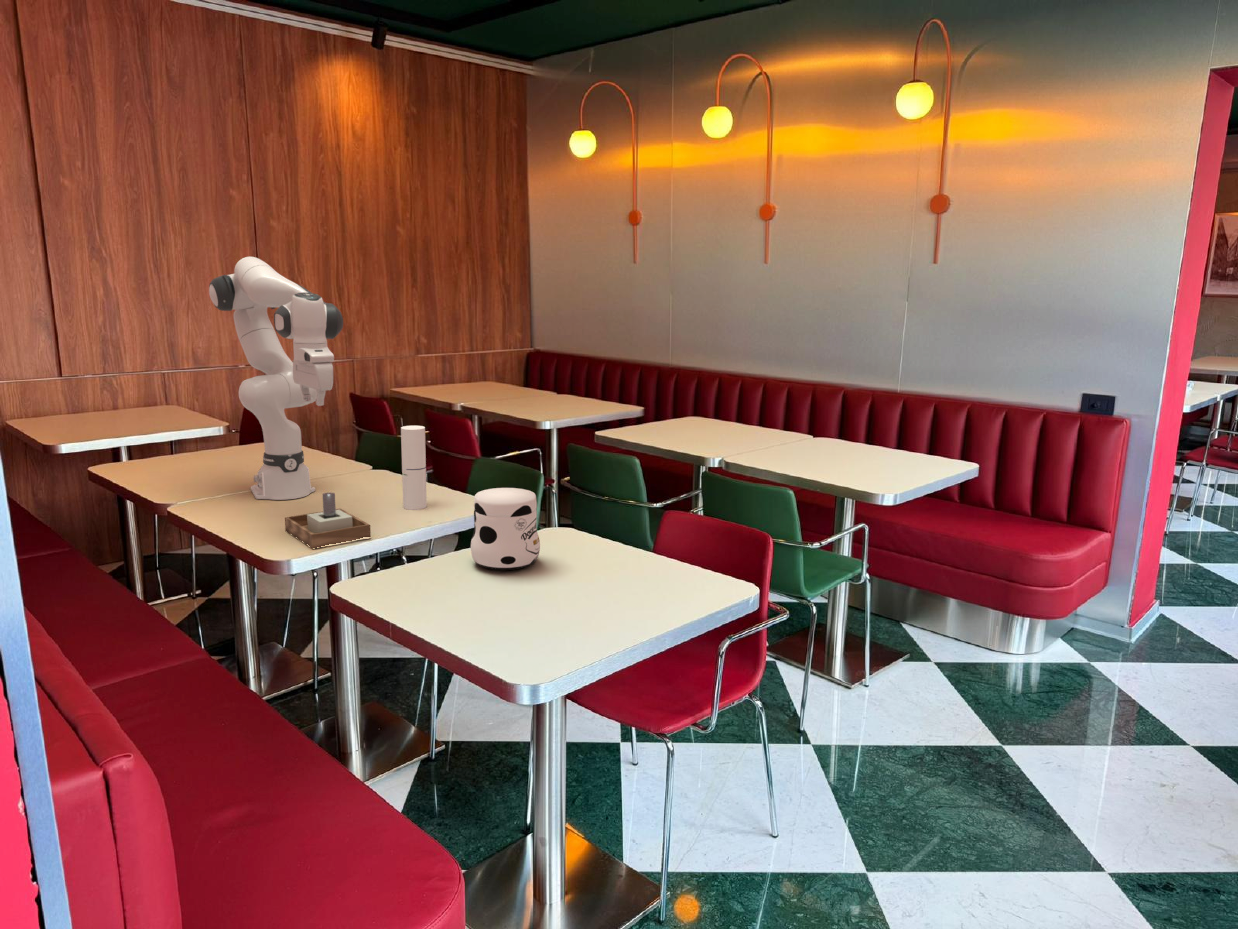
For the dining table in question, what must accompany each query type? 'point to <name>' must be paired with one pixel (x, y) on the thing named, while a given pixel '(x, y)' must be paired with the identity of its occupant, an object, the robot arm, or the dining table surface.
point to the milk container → (505, 529)
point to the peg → (329, 505)
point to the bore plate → (328, 522)
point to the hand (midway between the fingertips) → (313, 403)
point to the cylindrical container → (413, 467)
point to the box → (300, 530)
